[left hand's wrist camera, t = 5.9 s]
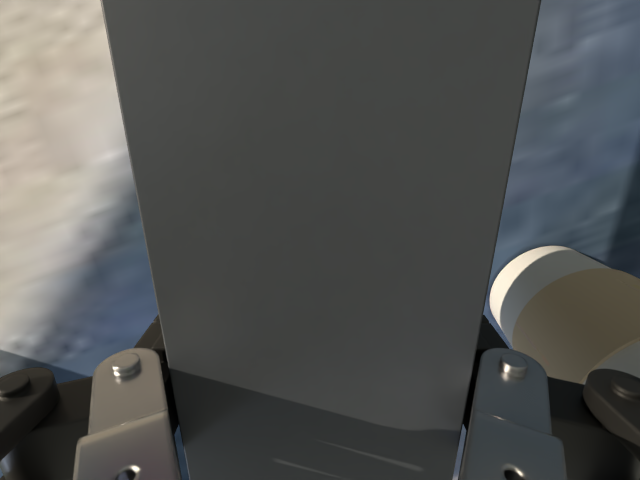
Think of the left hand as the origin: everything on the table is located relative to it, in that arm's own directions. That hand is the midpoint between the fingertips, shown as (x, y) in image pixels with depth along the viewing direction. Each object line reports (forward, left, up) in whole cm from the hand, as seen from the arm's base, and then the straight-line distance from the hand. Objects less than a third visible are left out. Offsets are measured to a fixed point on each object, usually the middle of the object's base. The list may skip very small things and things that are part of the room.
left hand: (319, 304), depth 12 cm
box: (-5, +5, -6) cm, 9 cm away
